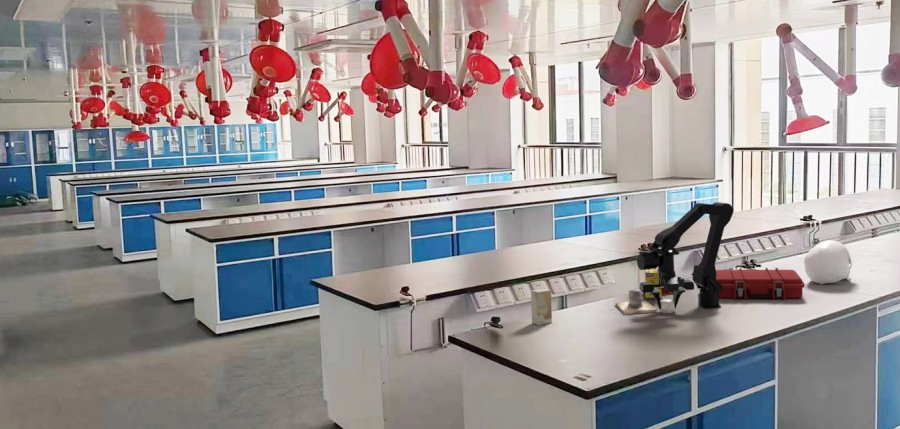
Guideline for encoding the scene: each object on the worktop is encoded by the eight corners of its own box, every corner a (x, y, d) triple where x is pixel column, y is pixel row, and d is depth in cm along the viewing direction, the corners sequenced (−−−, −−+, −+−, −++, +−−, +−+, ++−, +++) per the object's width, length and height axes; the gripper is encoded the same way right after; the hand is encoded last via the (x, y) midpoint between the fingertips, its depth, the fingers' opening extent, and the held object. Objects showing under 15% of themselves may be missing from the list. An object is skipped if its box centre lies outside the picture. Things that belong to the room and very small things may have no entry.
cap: (672, 309, 274) (671, 298, 274) (676, 312, 269) (676, 302, 268) (658, 310, 274) (658, 299, 274) (662, 313, 269) (662, 303, 268)
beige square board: (646, 303, 285) (645, 285, 285) (656, 312, 271) (656, 293, 271) (615, 305, 285) (614, 287, 285) (624, 314, 272) (623, 295, 271)
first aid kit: (795, 287, 297) (795, 266, 296) (805, 301, 275) (805, 278, 274) (712, 287, 306) (711, 267, 305) (715, 300, 284) (714, 279, 283)
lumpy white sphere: (864, 269, 306) (852, 230, 295) (848, 304, 296) (835, 266, 286) (824, 265, 317) (811, 228, 307) (808, 299, 308) (794, 262, 298)
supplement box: (661, 299, 290) (661, 272, 289) (646, 299, 291) (645, 272, 290) (660, 296, 296) (659, 269, 294) (645, 296, 297) (644, 269, 296)
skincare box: (538, 325, 263) (536, 292, 262) (531, 323, 267) (529, 290, 266) (553, 322, 266) (551, 289, 265) (546, 320, 270) (544, 287, 269)
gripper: (646, 273, 262) (647, 315, 263) (698, 269, 262) (699, 312, 263) (638, 267, 273) (639, 308, 274) (688, 264, 273) (689, 305, 274)
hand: (667, 308), depth 271 cm, fingers closed on cap, 5 cm apart
